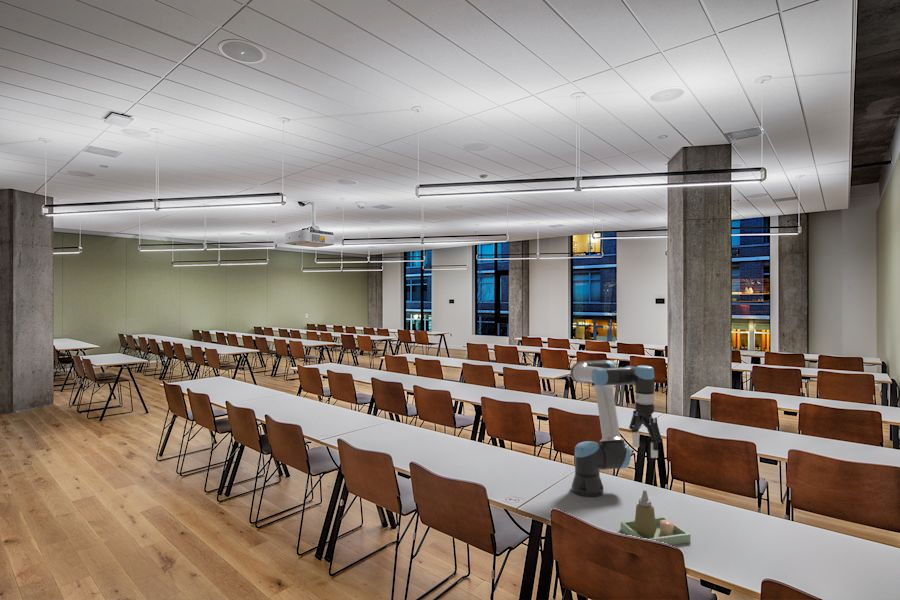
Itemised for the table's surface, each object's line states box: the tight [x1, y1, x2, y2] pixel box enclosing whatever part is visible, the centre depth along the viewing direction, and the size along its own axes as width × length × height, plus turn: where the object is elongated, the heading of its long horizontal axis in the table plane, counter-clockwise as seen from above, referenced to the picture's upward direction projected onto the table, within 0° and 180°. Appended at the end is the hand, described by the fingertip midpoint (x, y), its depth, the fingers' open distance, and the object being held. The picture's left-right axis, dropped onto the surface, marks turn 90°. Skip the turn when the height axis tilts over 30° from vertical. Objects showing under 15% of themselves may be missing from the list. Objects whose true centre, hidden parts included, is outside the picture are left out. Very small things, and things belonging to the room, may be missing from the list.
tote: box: [619, 516, 691, 546], centre depth 195 cm, size 16×20×4 cm
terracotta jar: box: [660, 519, 675, 536], centre depth 196 cm, size 5×5×4 cm
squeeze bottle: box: [634, 490, 656, 539], centre depth 194 cm, size 8×8×18 cm
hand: (644, 452), depth 210 cm, fingers open, 13 cm apart
